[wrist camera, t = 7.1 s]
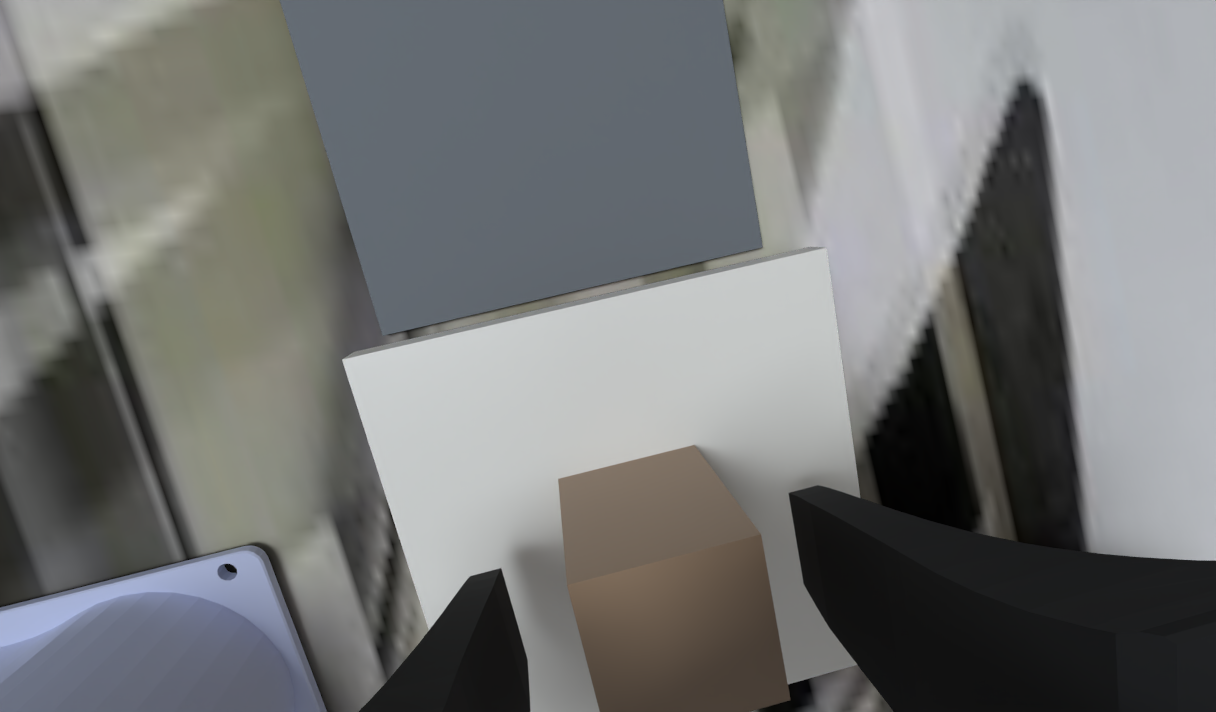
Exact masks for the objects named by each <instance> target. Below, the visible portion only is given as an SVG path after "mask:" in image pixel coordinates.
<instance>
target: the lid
mask: <svg viewBox="0 0 1216 712" xmlns="http://www.w3.org/2000/svg"><path fill="white" fill-rule="evenodd" d="M342 361H343V364H344V367H345V370H346V373H347V377H348V380H349V383H350V386H351V389H352V392H353V395H354V398H355V401H356V405H357V408H358V411H359V414H360V417H361V420H362V423H363V426H364V429H365V433H366V436H367V439H368V442H369V445H370V448H371V451H372V454H373V457H374V461H375V464H376V467H377V470H378V473H379V476H380V479H381V482H382V485H383V489H384V492H385V495H386V498H387V501H388V504H389V507H390V510H391V513H392V517H393V520H394V523H395V526H396V529H397V532H398V535H399V538H400V541H401V545H402V548H403V551H404V554H405V557H406V560H407V563H408V566H409V569H410V573H411V576H412V579H413V582H414V585H415V588H416V591H417V594H418V598H419V601H420V604H421V607H422V610H423V613H424V616H425V619H426V622H427V626H428V629H429V630H430V629H431V627H432V626H433V625H434V623H435V622H436V621H437V619H438V618H439V617H440V615H441V614H442V613H443V611H444V610H445V609H446V607H447V606H448V605H449V603H450V602H451V600H452V599H453V598H454V596H455V595H456V594H457V592H458V591H459V589H460V588H461V587H462V585H463V584H464V583H465V582H466V580H467V579H468V578H469V577H470V576H473V575H476V574H480V573H484V572H488V571H492V570H496V569H499V568H501V569H502V572H503V576H504V579H505V583H506V586H507V590H508V593H509V597H510V600H511V603H512V607H513V610H514V614H515V617H516V621H517V624H518V628H519V631H520V635H521V638H522V642H523V645H524V649H525V652H526V656H527V659H528V674H529V691H530V712H750V711H753V710H757V709H760V708H764V707H768V706H771V705H775V704H778V703H782V702H785V701H789V700H790V694H789V689H788V684H791V683H795V682H798V681H802V680H805V679H809V678H812V677H816V676H820V675H823V674H827V673H830V672H834V671H837V670H841V669H845V668H848V667H852V666H855V665H857V663H856V662H855V661H854V660H853V658H852V657H851V656H850V654H849V653H848V652H847V651H846V649H845V648H844V647H843V645H842V644H841V643H840V641H839V640H838V639H837V637H836V636H835V635H834V633H833V632H832V631H831V630H830V628H829V627H828V625H827V623H826V622H825V620H824V618H823V617H822V615H821V613H820V612H819V610H818V608H817V607H816V605H815V603H814V601H813V600H812V598H811V596H810V594H809V593H808V591H807V589H806V587H805V586H804V583H803V577H802V571H801V565H800V559H799V553H798V547H797V541H796V536H795V530H794V524H793V518H792V512H791V506H790V500H789V494H788V493H790V492H794V491H798V490H801V489H805V488H809V487H813V486H817V485H819V486H824V487H828V488H831V489H834V490H838V491H841V492H844V493H847V494H850V495H853V496H856V497H859V498H860V490H859V483H858V476H857V468H856V461H855V453H854V446H853V439H852V431H851V424H850V417H849V409H848V402H847V395H846V387H845V380H844V372H843V365H842V358H841V350H840V343H839V336H838V328H837V321H836V313H835V306H834V299H833V291H832V284H831V277H830V269H829V262H828V254H827V248H822V247H807V248H803V249H799V250H794V251H790V252H786V253H781V254H777V255H773V256H768V257H764V258H760V259H755V260H751V261H747V262H742V263H738V264H734V265H729V266H725V267H721V268H716V269H712V270H708V271H703V272H699V273H695V274H690V275H686V276H682V277H677V278H673V279H669V280H664V281H660V282H655V283H651V284H647V285H642V286H638V287H634V288H629V289H625V290H621V291H616V292H612V293H608V294H603V295H599V296H595V297H590V298H586V299H582V300H577V301H573V302H569V303H564V304H560V305H556V306H551V307H547V308H543V309H538V310H534V311H530V312H525V313H521V314H517V315H512V316H508V317H504V318H499V319H495V320H491V321H486V322H482V323H478V324H473V325H469V326H465V327H460V328H456V329H452V330H447V331H443V332H439V333H434V334H430V335H426V336H421V337H417V338H413V339H408V340H404V341H400V342H395V343H391V344H387V345H382V346H378V347H374V348H369V349H365V350H361V351H356V352H353V353H352V354H350V355H349V356H347V357H345V358H344V359H342Z"/></svg>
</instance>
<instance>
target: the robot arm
mask: <svg viewBox="0 0 1216 712" xmlns="http://www.w3.org/2000/svg"><path fill="white" fill-rule="evenodd" d="M788 494H789V500H790V506H791V512H792V518H793V524H794V530H795V536H796V541H797V547H798V553H799V559H800V565H801V571H802V577H803V583H804V586H805V587H806V589H807V591H808V593H809V594H810V596H811V598H812V600H813V601H814V603H815V605H816V607H817V608H818V610H819V612H820V613H821V615H822V617H823V618H824V620H825V622H826V623H827V625H828V627H829V628H830V630H831V631H832V632H833V633H834V635H835V636H836V637H837V639H838V640H839V641H840V643H841V644H842V645H843V647H844V648H845V649H846V651H847V652H848V653H849V654H850V656H851V657H852V658H853V660H854V661H855V662H856V663H857V665H858V666H859V667H860V669H861V670H862V671H863V672H864V674H865V675H866V676H867V678H868V679H869V680H870V681H871V683H872V684H873V685H874V686H875V688H876V689H877V690H878V692H879V693H880V694H881V695H882V697H883V698H884V699H885V701H886V702H887V703H888V704H889V706H890V707H891V708H892V709H893V711H894V712H1216V561H1196V560H1176V559H1159V558H1143V557H1129V556H1118V555H1107V554H1097V553H1089V552H1082V551H1074V550H1066V549H1058V548H1051V547H1045V546H1039V545H1032V544H1027V543H1021V542H1016V541H1011V540H1007V539H1002V538H997V537H992V536H987V535H982V534H978V533H974V532H969V531H965V530H962V529H958V528H954V527H951V526H947V525H943V524H940V523H936V522H932V521H929V520H926V519H922V518H919V517H916V516H912V515H909V514H906V513H903V512H900V511H897V510H894V509H891V508H888V507H885V506H882V505H879V504H876V503H873V502H870V501H867V500H864V499H861V498H859V497H856V496H853V495H850V494H847V493H844V492H841V491H838V490H834V489H831V488H828V487H824V486H819V485H817V486H813V487H809V488H805V489H801V490H798V491H794V492H790V493H788ZM225 564H231V565H233V566H234V567H235V568H236V569H237V573H231V572H229V571H227V569H226V568H225ZM0 712H327V710H326V708H325V705H324V702H323V700H322V697H321V695H320V692H319V689H318V687H317V684H316V681H315V679H314V676H313V674H312V671H311V668H310V666H309V663H308V660H307V658H306V655H305V653H304V650H303V647H302V645H301V642H300V639H299V637H298V634H297V632H296V629H295V626H294V624H293V621H292V618H291V616H290V613H289V611H288V608H287V605H286V603H285V600H284V597H283V595H282V592H281V589H280V587H279V584H278V582H277V579H276V576H275V574H274V571H273V568H272V566H271V563H270V561H269V558H268V556H267V554H266V553H265V551H263V550H262V549H261V548H259V547H256V546H252V545H251V546H242V547H239V548H235V549H231V550H227V551H223V552H219V553H215V554H211V555H207V556H203V557H199V558H195V559H191V560H187V561H183V562H179V563H175V564H171V565H167V566H163V567H159V568H155V569H151V570H147V571H143V572H139V573H135V574H131V575H127V576H123V577H119V578H116V579H112V580H108V581H104V582H100V583H96V584H92V585H88V586H84V587H80V588H76V589H72V590H68V591H64V592H60V593H56V594H52V595H48V596H44V597H40V598H36V599H32V600H28V601H24V602H20V603H16V604H12V605H8V606H4V607H0ZM359 712H530V691H529V674H528V659H527V656H526V652H525V649H524V645H523V642H522V638H521V635H520V631H519V628H518V624H517V621H516V617H515V614H514V610H513V607H512V603H511V600H510V597H509V593H508V590H507V586H506V583H505V579H504V576H503V572H502V569H501V568H499V569H496V570H492V571H488V572H484V573H480V574H476V575H473V576H470V577H469V578H468V579H467V580H466V582H465V583H464V584H463V585H462V587H461V588H460V589H459V591H458V592H457V594H456V595H455V596H454V598H453V599H452V600H451V602H450V603H449V605H448V606H447V607H446V609H445V610H444V611H443V613H442V614H441V615H440V617H439V618H438V619H437V621H436V622H435V623H434V625H433V626H432V627H431V629H430V630H429V631H428V633H427V634H426V635H425V636H424V638H423V639H422V640H421V642H420V643H419V644H418V645H417V647H416V648H415V649H414V650H413V651H412V653H411V654H410V655H409V656H408V657H407V658H406V660H405V661H404V662H403V663H402V664H401V666H400V667H399V668H398V669H397V670H396V672H395V673H394V674H393V675H392V676H391V678H390V679H389V680H388V681H387V682H386V683H385V684H384V686H383V687H382V688H381V689H380V690H379V691H378V692H377V693H376V694H375V695H374V696H373V697H372V698H371V699H370V701H369V702H368V703H367V704H366V705H365V706H364V707H363V708H362V709H361V710H360V711H359Z"/></svg>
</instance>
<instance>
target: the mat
mask: <svg viewBox="0 0 1216 712" xmlns="http://www.w3.org/2000/svg"><path fill="white" fill-rule="evenodd" d="M280 3H281V6H282V9H283V12H284V16H285V19H286V22H287V25H288V29H289V32H290V35H291V38H292V42H293V45H294V48H295V51H296V55H297V58H298V61H299V65H300V68H301V71H302V74H303V78H304V81H305V84H306V87H307V91H308V94H309V97H310V100H311V104H312V107H313V110H314V113H315V117H316V120H317V123H318V126H319V130H320V133H321V136H322V139H323V143H324V146H325V149H326V152H327V156H328V159H329V162H330V165H331V169H332V172H333V175H334V178H335V182H336V185H337V188H338V191H339V195H340V198H341V201H342V205H343V208H344V211H345V214H346V218H347V221H348V224H349V227H350V231H351V234H352V237H353V240H354V244H355V247H356V250H357V253H358V257H359V260H360V263H361V266H362V270H363V273H364V276H365V279H366V283H367V286H368V289H369V292H370V296H371V299H372V302H373V305H374V309H375V312H376V315H377V318H378V322H379V325H380V328H381V332H382V335H383V336H384V335H388V334H393V333H397V332H401V331H405V330H410V329H414V328H418V327H423V326H427V325H431V324H436V323H440V322H444V321H448V320H453V319H457V318H461V317H466V316H470V315H474V314H478V313H483V312H487V311H491V310H496V309H500V308H504V307H509V306H513V305H517V304H521V303H526V302H530V301H534V300H539V299H543V298H547V297H551V296H556V295H560V294H564V293H569V292H573V291H577V290H582V289H586V288H590V287H594V286H599V285H603V284H607V283H612V282H616V281H620V280H624V279H629V278H633V277H637V276H642V275H646V274H650V273H655V272H659V271H663V270H667V269H672V268H676V267H680V266H685V265H689V264H693V263H697V262H702V261H706V260H710V259H715V258H719V257H723V256H728V255H732V254H736V253H740V252H745V251H749V250H753V249H758V248H762V247H763V246H762V240H761V234H760V228H759V222H758V216H757V209H756V203H755V197H754V191H753V185H752V178H751V172H750V166H749V160H748V154H747V148H746V141H745V135H744V129H743V123H742V117H741V110H740V104H739V98H738V92H737V86H736V80H735V73H734V67H733V61H732V55H731V49H730V42H729V36H728V30H727V24H726V18H725V12H724V5H723V0H280Z"/></svg>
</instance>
